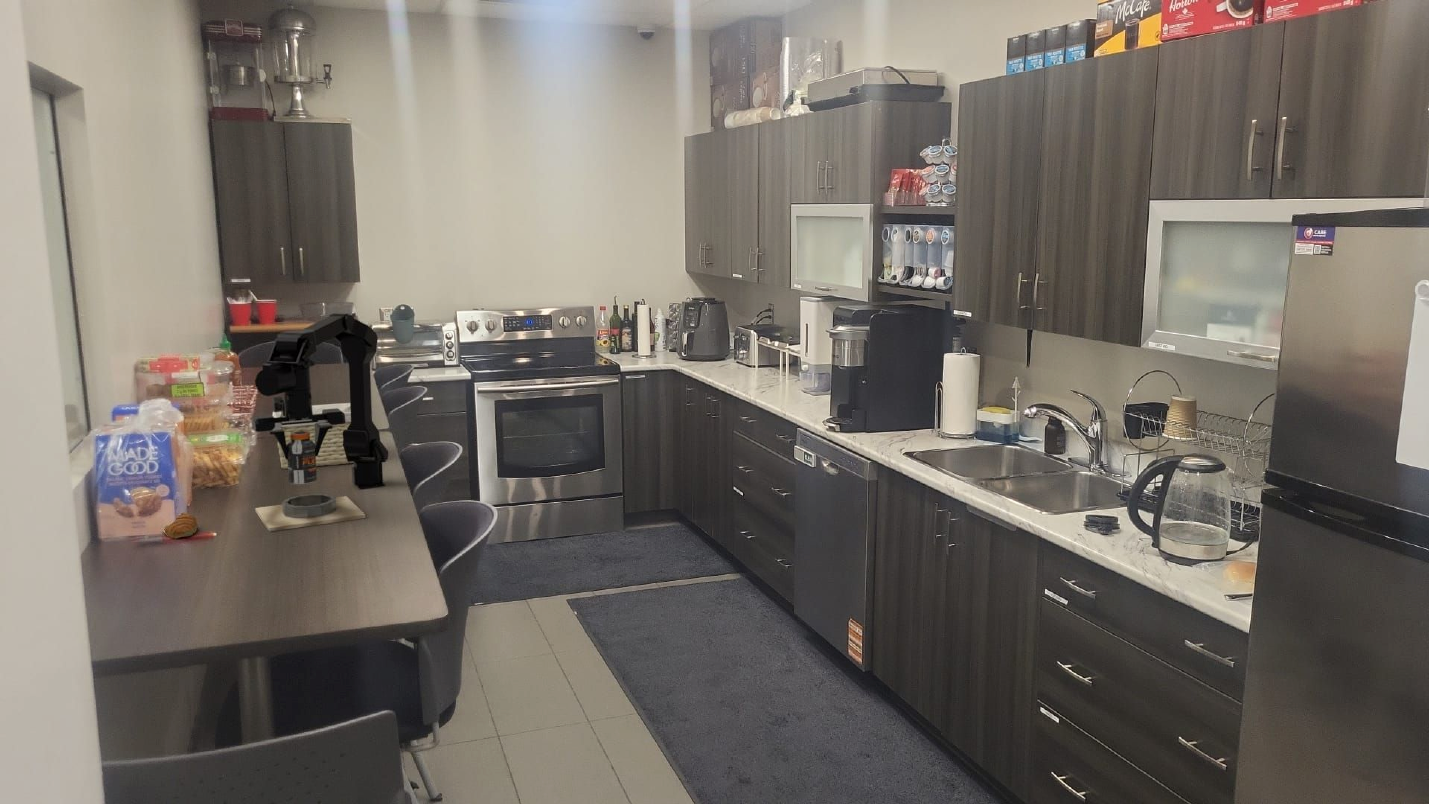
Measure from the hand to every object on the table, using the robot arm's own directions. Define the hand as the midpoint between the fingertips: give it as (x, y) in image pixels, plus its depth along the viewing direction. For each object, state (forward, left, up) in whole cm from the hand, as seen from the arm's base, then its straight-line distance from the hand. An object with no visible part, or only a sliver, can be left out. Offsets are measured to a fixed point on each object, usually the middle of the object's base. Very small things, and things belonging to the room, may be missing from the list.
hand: (301, 457), depth 232 cm
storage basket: (-15, -52, -13) cm, 55 cm away
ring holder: (-1, +1, -13) cm, 13 cm away
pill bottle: (0, 0, -6) cm, 6 cm away
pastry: (+25, +1, -14) cm, 29 cm away
